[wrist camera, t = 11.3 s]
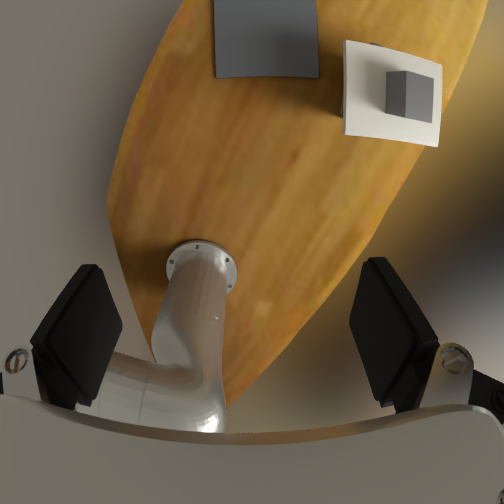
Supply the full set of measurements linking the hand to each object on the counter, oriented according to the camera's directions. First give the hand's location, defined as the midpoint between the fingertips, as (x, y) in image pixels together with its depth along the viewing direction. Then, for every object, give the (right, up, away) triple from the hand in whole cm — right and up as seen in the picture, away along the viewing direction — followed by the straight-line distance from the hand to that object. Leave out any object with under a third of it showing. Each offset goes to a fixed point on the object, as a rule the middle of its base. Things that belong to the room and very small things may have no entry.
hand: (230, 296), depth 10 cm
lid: (+17, +20, +15) cm, 30 cm away
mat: (+3, +31, +20) cm, 37 cm away
